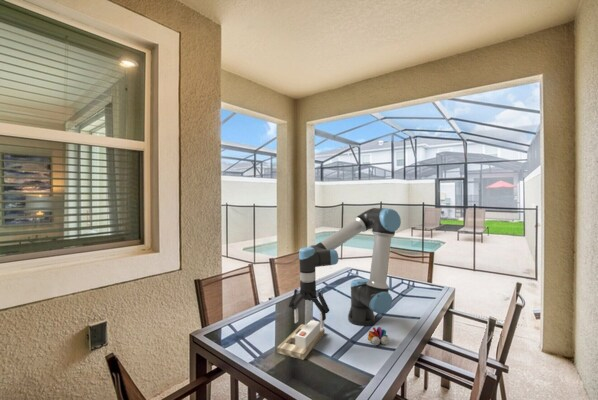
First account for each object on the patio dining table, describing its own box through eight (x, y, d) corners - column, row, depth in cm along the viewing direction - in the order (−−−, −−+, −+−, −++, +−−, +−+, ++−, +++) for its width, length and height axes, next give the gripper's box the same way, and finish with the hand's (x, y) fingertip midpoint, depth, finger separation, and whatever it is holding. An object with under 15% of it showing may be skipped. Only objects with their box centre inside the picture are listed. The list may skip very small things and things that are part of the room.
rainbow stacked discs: (365, 338, 139) (365, 323, 139) (384, 337, 140) (384, 322, 140) (371, 347, 130) (371, 331, 131) (391, 346, 131) (391, 330, 131)
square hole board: (324, 333, 144) (324, 328, 144) (303, 359, 120) (303, 353, 120) (301, 328, 149) (301, 324, 149) (277, 352, 126) (277, 347, 126)
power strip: (320, 335, 140) (319, 320, 140) (305, 353, 124) (305, 336, 124) (310, 333, 143) (310, 319, 143) (295, 351, 126) (295, 334, 126)
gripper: (335, 280, 132) (336, 325, 132) (288, 275, 142) (289, 317, 142) (329, 285, 125) (331, 332, 125) (281, 279, 136) (282, 323, 136)
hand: (309, 324), depth 134 cm, fingers open, 13 cm apart
